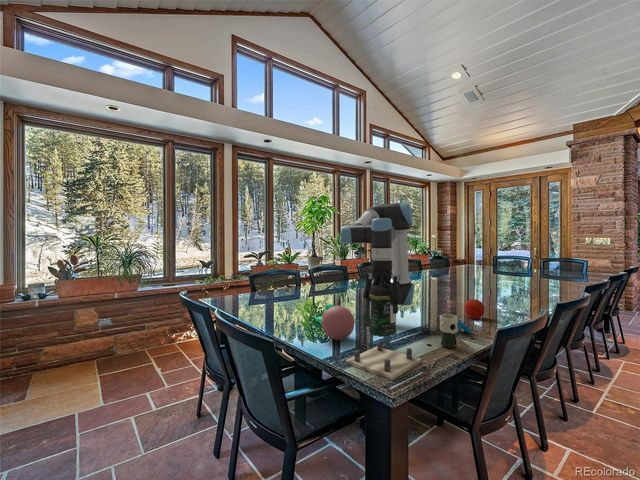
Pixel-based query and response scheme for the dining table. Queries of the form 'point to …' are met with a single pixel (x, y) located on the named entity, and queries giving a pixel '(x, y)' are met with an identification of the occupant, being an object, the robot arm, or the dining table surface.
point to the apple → (474, 309)
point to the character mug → (448, 330)
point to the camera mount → (325, 309)
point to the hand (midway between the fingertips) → (382, 320)
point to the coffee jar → (381, 312)
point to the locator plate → (378, 362)
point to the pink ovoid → (337, 322)
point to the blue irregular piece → (463, 327)
